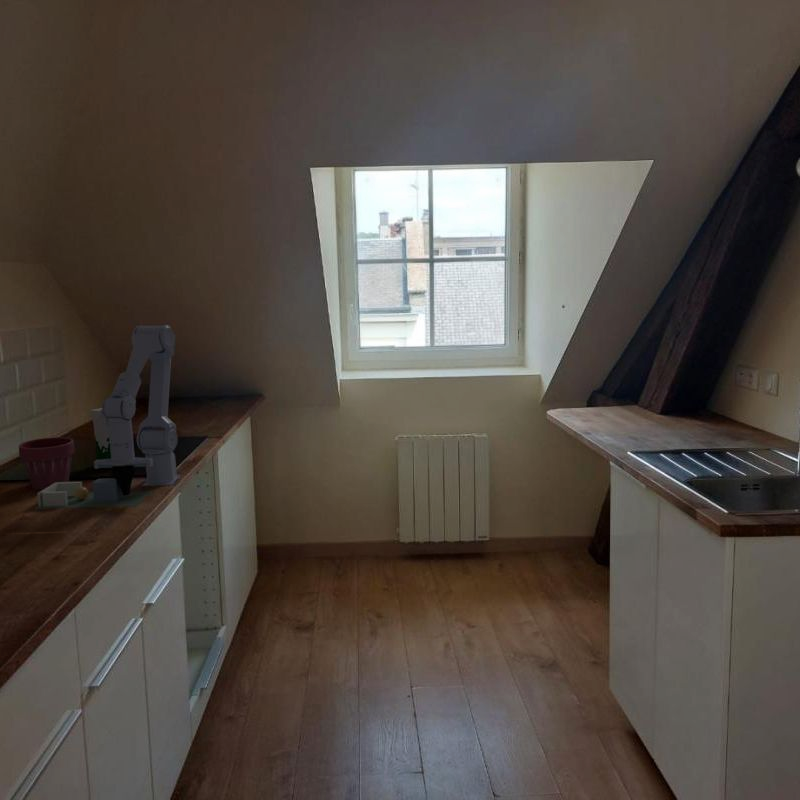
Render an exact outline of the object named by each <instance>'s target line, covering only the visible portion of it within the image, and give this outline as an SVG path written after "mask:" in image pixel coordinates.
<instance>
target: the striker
mask: <svg viewBox="0 0 800 800" xmlns="http://www.w3.org/2000/svg"><path fill="white" fill-rule="evenodd" d="M91 485H92V493H93V496H94V502H99V501H118V500H119V499H120V498H121V497H123V494H122V491H121V488H120V486H119V484H118V482H117V480H116V479H115V477H114V478H113V477H112V478H111V477H110V478H107V477H106V478H97V479H96V480H94V481H92V482H91Z"/></svg>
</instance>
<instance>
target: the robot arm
mask: <svg viewBox="0 0 800 800" xmlns="http://www.w3.org/2000/svg"><path fill="white" fill-rule="evenodd" d="M130 339H131V343H132V346H133V348H132V350H131V353H130V357H129V360H128V363H127V367H126V370H125V371H124V372H121V373H120V374H119V375H118V378H117V380H116V382H115V385H114V387H113V390H112V392H111V395H110V396H109V397H108V398H106V399H105V400H104V401H103V403H102V406H101V408H102V410H101V412H102V415H103V417H104V418H105V422H106V425H107V426H108V429H109V440H110V450H111V459H102V460H97V459H96V460H94V461H93V466H94V469H96V470H97V469H102V468H103V469H107V468H112V467H113V469H111V470H110V472H111V474H112V476H113V477H114V478H115V479H116V480H117V482H118V484H119V486H120V488H121V491H122V494H123V495H128V494H130V492H131V488H132V487H131V486H132V481H133V479H134V475H135V472H136V471H137V468H138V467H139V468H142V467H145V469H146V470H145V472H146V481H145V482H144V483H143V484H142V487H149V486H150V487H153V486H155V487H156V486H172V485H173V484H174V483H175V482H177V481H178V480H179V479H180V478H181V475H179V474H178V475H177V463H176V455H175V453H174V452H173V451H175V449H176V447H177V446H178V445H177V444H178V441H179V440H178V439H179V438H178V434H177V433H178V432H177V425H176V423H174V421H172V420H171V419H170V418H169V417H168V416H169V415H168V414H169V400H170V399H169V398H170V383H171V368H172V367H171V366H172V364H171V363H172V357H174V356H175V344H176V343H175V342H176V335H175V333H174V331H173V329H172V327H171V326H170V325H167V324H164V325H137V326H135V327H134V329H133V331H132V333H131V338H130ZM148 360H150V361H151V367H150V382H149V397H148V398H149V399H148V410H147V411H148V413H147V414H148V415H147V417H146V418H144V420H143V421H141V422H140V423H139V429H138V432H137V434H136V445H137V447H138V448H139V450H141V453H142V454H144V457H138V456H137V457H135V447H134V434H133V425H132V424H133V422H132V418H133V417H134V416H135V413H136V410H137V409H136V404H137V400H136V397H137V395H138V391H139V389H140V387H141V385H142V379H141V377H140V375H141V373H142V371H143V370H144V367H145V365H146V364H147V362H148Z"/></svg>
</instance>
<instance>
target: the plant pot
mask: <svg viewBox="0 0 800 800" xmlns="http://www.w3.org/2000/svg"><path fill="white" fill-rule="evenodd" d="M75 450H76V449H75V443H74V439H73V438H70V437H58V436H57V437H56V436H55V437H44V438H36V439H31V440H27V441H23V442H22V443H19V444H18V456H19V459H20V460H22V461H23V462H24V463H23V464H24V466H25V469H26V472H27V475H28V478H29V480H30V484H31V486H32V489H34V490H40V491H42V490H44V489H45V488H47V487H49V486H50V485H52V484H54V483H55V482H70V479H69V478H70V475H71V474H70V473H71V465H72V455H74V454H75V452H76V451H75Z"/></svg>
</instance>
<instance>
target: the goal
mask: <svg viewBox="0 0 800 800" xmlns="http://www.w3.org/2000/svg"><path fill="white" fill-rule="evenodd" d="M78 487H83V481H68V482H55V483H54V484H52V485H50V486H49V487H47V488H45V489H44V490H40V491H38V492H37V503H38V506H39V507H45V506H67V505H68V497H67V496H74V491H75V489H76V488H78Z"/></svg>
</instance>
